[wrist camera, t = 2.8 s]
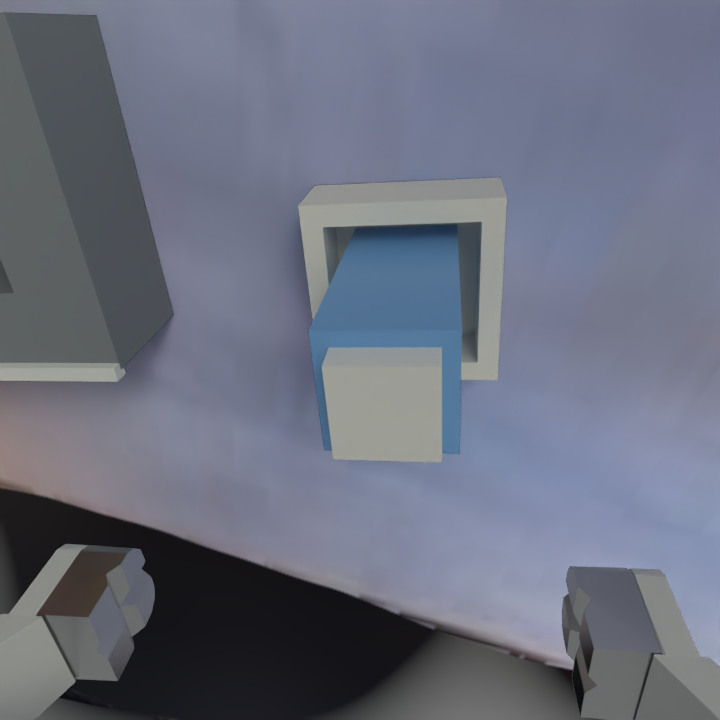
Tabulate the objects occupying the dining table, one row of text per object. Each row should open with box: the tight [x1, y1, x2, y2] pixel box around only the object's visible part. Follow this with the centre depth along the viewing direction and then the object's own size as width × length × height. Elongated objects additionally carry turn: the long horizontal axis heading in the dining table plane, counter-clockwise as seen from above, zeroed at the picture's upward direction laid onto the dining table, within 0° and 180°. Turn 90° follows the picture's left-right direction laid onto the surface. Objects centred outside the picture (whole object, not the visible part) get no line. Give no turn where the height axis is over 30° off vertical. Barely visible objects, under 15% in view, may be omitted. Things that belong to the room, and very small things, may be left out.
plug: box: [308, 225, 462, 462], centre depth 19 cm, size 4×4×10 cm
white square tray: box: [298, 177, 507, 380], centre depth 23 cm, size 7×7×3 cm
